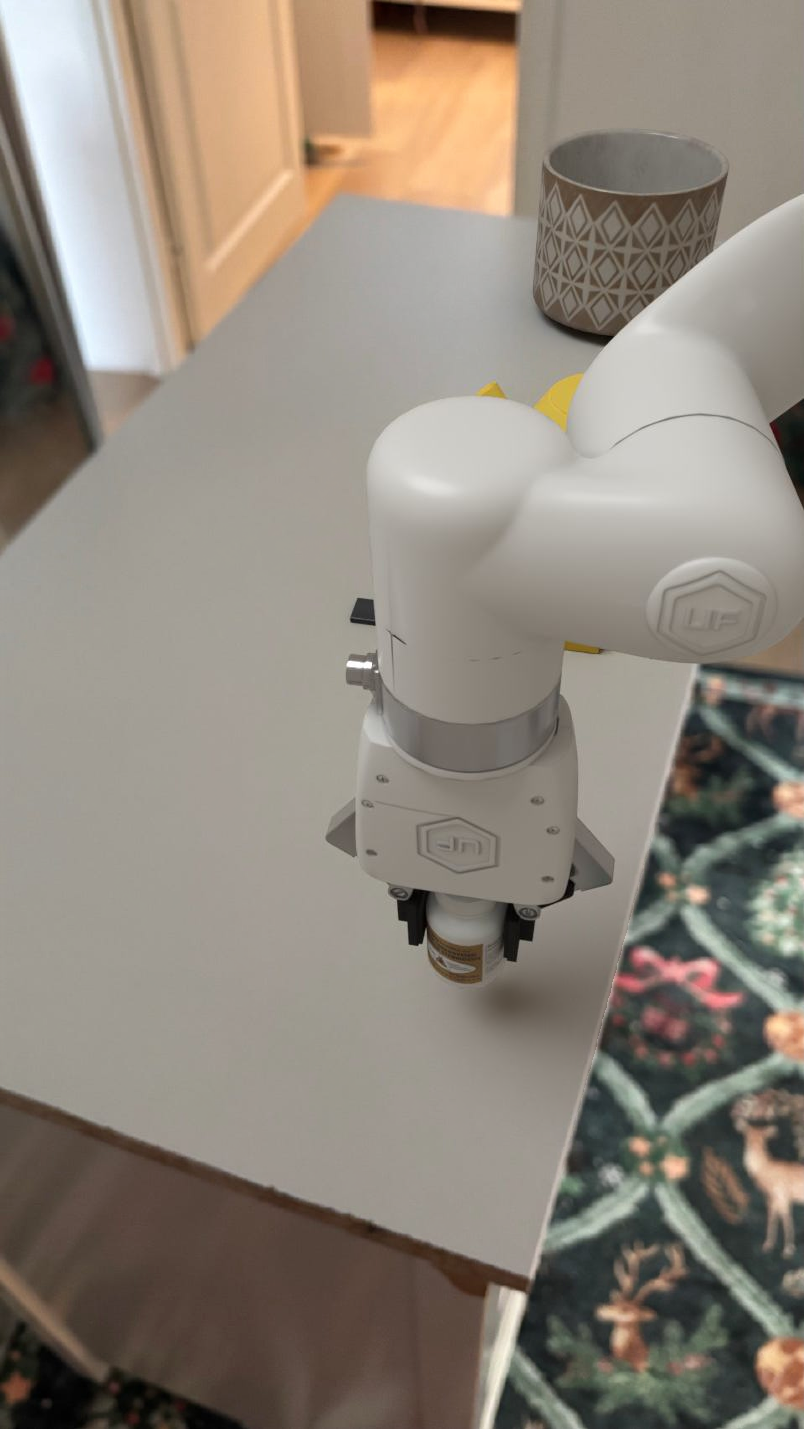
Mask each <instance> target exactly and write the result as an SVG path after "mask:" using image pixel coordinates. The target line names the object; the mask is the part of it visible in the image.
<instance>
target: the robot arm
mask: <svg viewBox="0 0 804 1429" xmlns="http://www.w3.org/2000/svg"><path fill="white" fill-rule="evenodd" d="M583 373H584V375H583V377H582V378H581V380H580V382H579V384H578V386H577V388H576V391H575V393H574V395H573V397H572V400H571V403H570V407H569V411H568V415H567V419H566V431H565V432H564V431H563V430H562V429H561V428H560V427H559V425H558V424H557V423H556V422H555V421H553V420H552V419H551V418H549V417H548V416H547V415H545V414H543V413H542V412H540V411H538V410H536V409H534V407H532V406H530V405H528V404H525V403H523V402H520V401H517V400H513V399H509V398H507V399H504V398H498V397H491V396H475V395H457V396H451V397H443V398H440V399H435V400H431V401H428V402H426V403H423V404H420V405H417V406H415V407H413V408H411V409H410V410H408V411H406V412H404V413H403V414H401V415H399V416H398V417H396V418H395V419H394V420H392V421H391V422H390V423H389V424H388V425H386V426H385V428H384V429H383V430H382V432H381V433H380V434H379V436H378V437H377V438H376V439H375V442H374V444H373V446H372V449H371V451H370V454H369V456H368V459H367V464H366V470H365V503H366V514H367V515H366V517H367V529H368V532H367V533H368V543H369V544H368V545H369V559H370V571H371V585H372V599H373V600H374V611H375V622H376V625H375V636H376V650H375V652H368V653H366V655H365V654H357V653H350V654H349V656H348V659H347V662H346V669H345V682H346V684H347V685H350V686H357V687H362V689H363V690H365V691H366V690H367V691H370V693H371V694H372V698H371V701H370V703H369V705H368V706H367V708H366V710H365V713H364V716H363V720H362V725H361V728H360V729H361V730H360V734H359V741H358V748H357V759H356V773H355V774H356V776H355V797H354V798H352V799H351V800H350V801H349V802H348V803H346V805H344V806H343V807H342V808H340V809H339V810H338V811H337V812H335V814H333V816H332V817H331V818H330V821H329V825H328V827H327V830H326V833H325V841H326V842H327V843H328V844H330V845H331V846H333V847H335V848H337V849H338V850H341V851H342V852H344V853H346V854H347V855H349V856H351V857H353V858H355V857H356V858H357V861H358V863H359V866H360V868H361V869H362V870H363V871H364V872H365V873H366V874H367V875H368V876H370V877H372V878H374V879H375V880H376V881H377V880H378V881H380V882H382V883H385V884H387V885H388V888H387V894H388V896H390V897H391V898H393V899H394V900H396V908H397V921H399V922H405V923H407V927H406V928H407V940H408V941H407V942H408V945H409V946H414V947H419V946H420V945H424V944H423V943H424V940H425V936H426V912H425V909H426V900H427V896H428V893H429V891H434V892H440V893H446V894H452V895H459V896H465V897H472V898H479V899H486V900H493V901H500V902H507V903H508V908H507V914H506V920H505V936H504V954H503V958H506V962H511V963H512V962H513V963H517V961H518V954H519V948H520V943H521V942H520V941H525V942H531V943H532V942H533V941H534V934H535V927H536V920H539V918H540V917H541V913H542V910H543V909H545V908H548V907H550V906H553V905H555V904H558V903H561V902H563V901H565V900H568V899H571V898H572V897H573V896H574V895H575V892H577V891H581V892H585V891H589V890H590V891H591V890H593V889H597V888H601V887H605V886H606V887H607V886H609V885H611V884H612V883H613V881H614V874H615V873H614V872H615V862H616V861H615V860H616V859H615V858H614V856H613V854H611V853H610V851H608V849H607V848H606V847H605V846H604V845H603V844H602V843H601V841H600V840H599V839H598V838H597V837H596V836H595V834H593V832H592V831H591V830H590V829H589V828H588V827H587V826H586V825H585V824H584V823H583V821H582V820H581V819H580V818H579V816H578V804H579V759H578V756H579V755H578V747H577V739H576V738H577V737H576V731H575V725H574V720H573V715H572V712H571V708H570V705H569V703H568V702H567V700H566V698H565V697H564V695H563V694H561V685H562V676H563V675H562V674H563V665H564V656H565V654H564V653H565V649H564V646H565V641H567V642H572V643H577V644H582V645H587V646H591V647H596V648H599V649H601V650H606V651H611V652H615V653H619V654H624V655H630V656H635V657H639V658H645V659H649V660H655V661H662V662H669V663H679V664H693V665H695V664H696V665H698V664H699V665H700V664H703V665H705V664H706V665H708V664H715V663H716V664H719V663H725V662H732V661H737V660H741V659H746V658H749V657H752V656H753V655H756V654H759V653H761V652H764V651H766V650H768V649H770V648H771V647H773V646H775V645H776V644H778V643H780V642H781V641H782V640H783V639H785V638H786V637H787V636H788V635H789V634H791V633H792V631H793V630H794V629H795V628H796V627H797V626H798V625H799V623H801V622H802V620H803V618H804V507H803V505H802V503H801V501H800V500H801V499H800V497H799V495H798V493H797V491H796V488H795V486H794V484H793V481H792V479H791V476H790V475H789V474H790V473H789V472H788V470H787V467H786V461H785V458H784V457H783V456H784V455H783V454H782V452H781V449H780V447H779V444H778V442H777V440H776V439H777V438H776V437H775V434H774V433H773V430H772V427H771V425H770V423H772V422H773V421H775V420H776V419H778V418H779V417H780V416H781V415H783V414H784V413H786V412H787V411H789V409H791V408H793V407H794V406H795V405H797V404H798V403H799V402H801V401H802V400H804V193H802V194H800V195H797V196H796V197H794V198H791V199H789V200H788V201H786V202H783V203H782V204H781V205H779V206H777V207H775V208H774V209H772V210H770V211H768V212H766V213H765V214H763V215H762V216H760V217H759V218H757V219H755V220H754V221H752V222H751V223H749V224H748V225H747V226H745V227H744V228H742V229H741V230H739V231H737V232H736V233H735V234H733V236H731V237H730V238H728V239H726V241H724V242H723V243H722V244H719V246H717V248H715V249H713V252H712V253H710V254H709V255H708V256H707V257H705V258H704V259H703V260H702V261H701V262H699V263H698V264H697V265H696V266H695V267H693V268H692V269H691V270H690V271H689V272H687V273H686V274H685V275H684V276H683V277H681V278H680V279H679V280H678V281H677V282H676V283H674V284H673V285H672V286H671V287H670V288H668V289H667V290H666V291H665V292H664V293H662V294H661V295H660V296H659V297H658V298H657V299H655V300H654V301H653V302H652V303H651V304H649V305H648V306H647V307H646V308H645V309H644V310H643V311H641V312H640V313H639V314H638V315H637V316H636V317H635V318H634V319H632V320H631V321H630V322H629V323H628V324H627V325H626V326H625V327H624V328H623V329H622V330H621V331H620V332H619V333H618V334H617V335H616V336H613V338H612V339H611V340H610V341H608V343H607V344H606V345H605V346H604V347H603V348H602V349H601V351H600V352H599V353H598V355H597V356H596V357H595V359H594V360H593V361H592V362H591V364H590V365H589V367H588V368H587V369H586V371H585V372H583ZM565 433H566V434H565Z"/></svg>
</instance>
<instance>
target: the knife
mask: <svg viewBox="0 0 804 1429" xmlns="http://www.w3.org/2000/svg"><path fill="white" fill-rule="evenodd" d="M349 622H350V623H355V624H363V625H370V626H376V622H375V611H374V600H373V598H372V599H371V598H364V597H357V598H356V600H355V603H354V606H353V608H352V610H351V614H350V616H349ZM565 650H566V651H572V652H573V651H574V652H579V653H580V652H582V653H588V654H596V655H598V654H599V652H600V648H596V647H591V646H587V645H582V644H577V643H572V642H567V641H565V646H564V651H565Z"/></svg>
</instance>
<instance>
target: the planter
mask: <svg viewBox="0 0 804 1429" xmlns="http://www.w3.org/2000/svg"><path fill="white" fill-rule="evenodd" d="M541 167H542V168H541V178H540V192H539V205H538V218H537V229H536V230H537V231H536V243H535V255H534V256H535V258H534V270H533V282H532V297H533V300H534V302H535V305H536V306H537V308H538V309H539V310H540V311H541V312H542V313H543V314H545V315H546V316H547V317H548V318H550V319H551V320H554V321H555V322H557V323H559V324H561V325H563V326H566V327H568V328H570V329H575V330H578V331H581V332H585V333H590V334H595V335H602V336H609V337H615V336H616V335H617V334H618V333H619V332H620V331H621V330H622V329H623V328H624V327H625V326H626V325H627V324H628V323H629V322H630V321H631V320H632V319H634V318H635V317H636V316H637V315H638V314H639V313H640V312H641V311H643V310H644V309H645V308H646V307H647V306H648V305H649V304H651V303H652V302H653V301H654V300H655V299H657V298H658V297H659V296H660V295H661V294H662V293H664V292H665V291H666V290H667V289H668V288H670V287H671V286H672V285H673V284H674V283H676V282H677V281H678V280H679V279H680V278H681V277H683V276H684V275H685V274H686V273H687V272H689V271H690V270H691V269H692V268H693V267H695V266H696V265H697V264H698V263H699V262H701V261H702V260H703V259H704V258H705V257H707V256H708V255H709V254H710V253H712V252H713V251H714V247H715V242H716V237H717V232H718V229H719V228H718V227H719V223H720V216H721V212H722V205H723V202H724V196H725V192H726V186H727V182H728V176H729V171H730V162H729V160H728V158H727V156H726V155H725V154H724V153H723V152H722V151H721V150H720V149H718V148H717V147H715V146H713V145H712V144H709V143H708V142H705V141H703V140H700V139H697V138H695V137H692V136H688V135H684V134H680V133H675V132H671V131H664V130H657V129H646V128H631V127H630V128H629V127H628V128H626V127H625V128H623V127H622V128H603V129H595V130H589V131H582V132H579V133H575V134H571V135H568V136H566V137H563V138H560V139H558V140H557V141H555V142H554V143H552V144H551V145H549V146H548V147H547V148H546V149H545V151H544V153H543V155H542V165H541Z"/></svg>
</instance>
